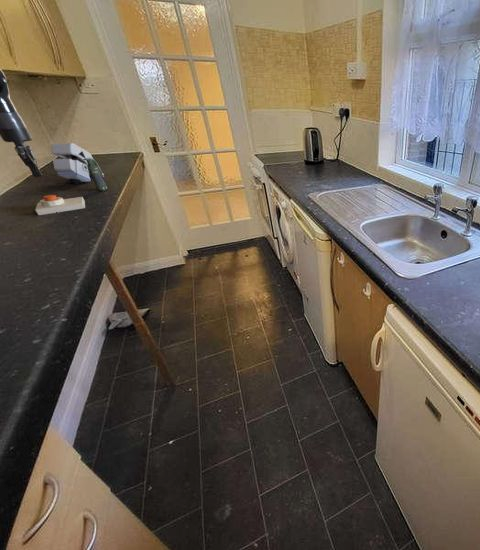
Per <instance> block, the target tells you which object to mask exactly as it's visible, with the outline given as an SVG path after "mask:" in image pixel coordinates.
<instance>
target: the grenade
mask: <svg viewBox="0 0 480 550" xmlns="http://www.w3.org/2000/svg"><path fill="white" fill-rule="evenodd" d="M83 160H86V161H87V163H88V165H87V167H88V171H89V175H91V176H92V177H91V178H92V180H93V183H94V185H95V188H96V190H97V191H100V192H103V191H107V189H108V186H107V184H106V182H105V181H104V178H105V176H104V177H103V175H102V173H103V172H102V169H101V168H100V164H99V163H98V162H97V161H96V160H95V159H94V158H93V157H92V158H85V159H83Z"/></svg>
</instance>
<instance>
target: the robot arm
mask: <svg viewBox="0 0 480 550" xmlns="http://www.w3.org/2000/svg"><path fill="white" fill-rule="evenodd" d="M0 137H1V139H2V141H3V142H5V143H13V145H14V147H13V149H14V151H15V153H17V156H18V157H19V158H20V160H21V162H23V163H24V165H25V166H26V167H27V168H28V169H29V170H30V172H31V174H32V176H33V177H34V178H41V177H43V174H42V172H41V170H40V168H39V166H38V161H37V159H36V156H35V154H34V152H33V148H32V146H31V145H28V144H27V142H31V141H33V137H32V135H31V133H30V131H29V129H28V127H27V125H26V123H25V122H24V120H23V118H22V116H21V115H20V113H19V111H18V110H17V108H16V106H15V104H14V102H13V100H12V99H11V94H10V88H9V86H8V80H7V77H6V75H5V73H4V71H3V70H2V69H1V68H0Z"/></svg>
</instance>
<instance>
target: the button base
mask: <svg viewBox="0 0 480 550" xmlns="http://www.w3.org/2000/svg"><path fill="white" fill-rule="evenodd" d="M56 197H57V200H53V201H45V199H44V198H43V199H40V200H39V202H37V204H36V207H35V212H36V214H37V216H43V215H50V214H57V213H62V212H69V211H75V210H76V211H77V210H81V209H86V201H85V199H84V197H83V196H78V197H70V198H63V197H62V196H56ZM56 212H57V213H56Z"/></svg>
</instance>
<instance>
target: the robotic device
mask: <svg viewBox="0 0 480 550" xmlns="http://www.w3.org/2000/svg"><path fill="white" fill-rule="evenodd" d="M50 145H51V146H50V149H51V150H50V151H51V154H52V155H54V156H57V157H59V158H53V159H52V163H53V168H54V170H55V171H56V174H57V176H59V177H61V178H63V179H65V180H68V181H69V182H70V183H72V184H74V185H80V183H88V182H92V180H91V178H92V176H91V174H90V173H89V171H88V167H87V165H88V163H87V161H86V160H83V159H85V158H93V156H92V154H91V153H90V152H89V151H88V150H86V149H84V148H82V147H80V146H79V145H77V144H75V143H73V142H54V143H52V144H50ZM102 175H103V177H104V178H105V173H103V172H102Z"/></svg>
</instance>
